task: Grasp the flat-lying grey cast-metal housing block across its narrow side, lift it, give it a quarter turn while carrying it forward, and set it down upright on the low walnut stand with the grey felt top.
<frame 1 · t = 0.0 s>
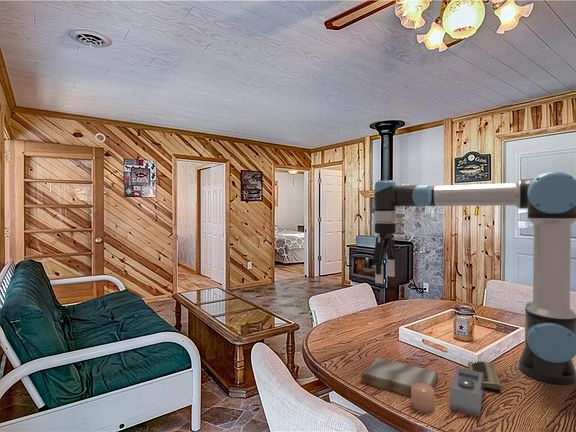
hand: (385, 279, 129), 28 cm above the table, fingers open, 13 cm apart
housing: (467, 400, 99), on the table
stand: (399, 381, 109), on the table
beige egg: (422, 406, 96), on the table
computer: (483, 380, 110), on the table
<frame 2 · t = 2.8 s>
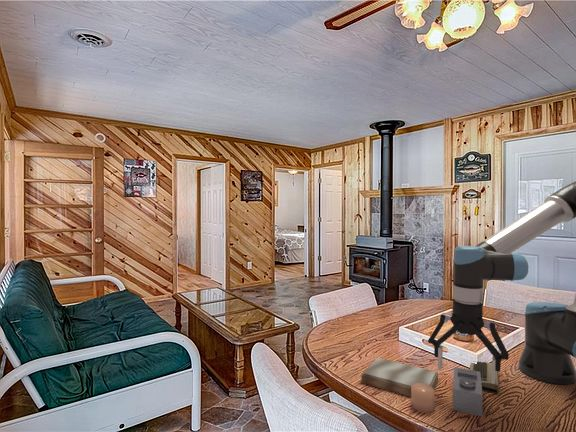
hand: (465, 375, 98), 7 cm above the table, fingers open, 13 cm apart
nothing on the table moved.
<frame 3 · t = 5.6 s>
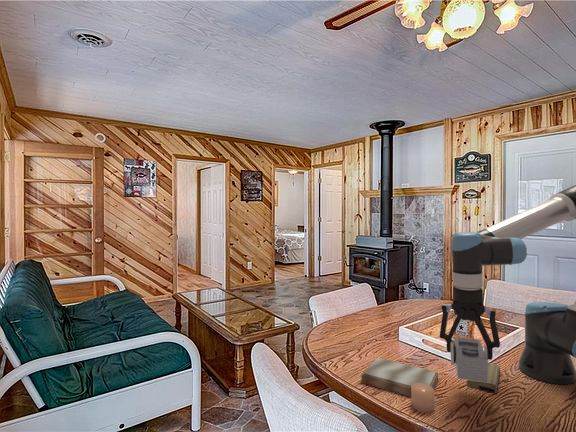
hand: (469, 366, 98), 10 cm above the table, fingers closed on housing, 8 cm apart
housing: (469, 368, 98), point 9 cm above the table, touching gripper
everything else where it was.
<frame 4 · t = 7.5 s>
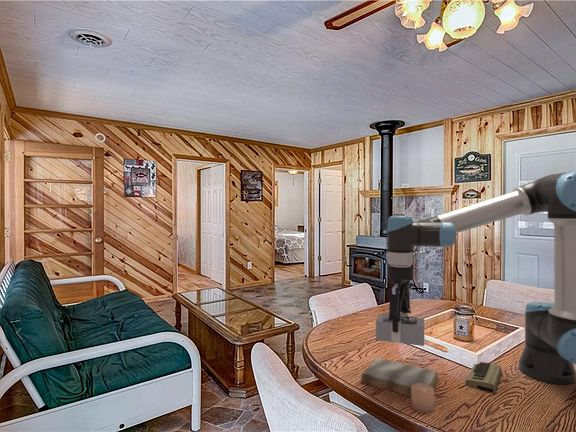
hand: (400, 337, 109), 14 cm above the table, fingers closed on housing, 8 cm apart
housing: (400, 338, 109), point 14 cm above the table, touching gripper
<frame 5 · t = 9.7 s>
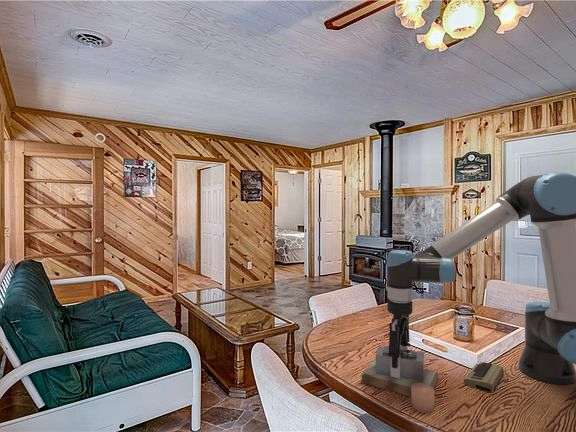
hand: (399, 371, 109), 3 cm above the table, fingers closed on housing, stand, 8 cm apart
housing: (399, 372, 109), point 3 cm above the table, touching gripper, stand
when the fingers open (3 cm above the table, at t = 10.5 s): housing stays where it is, resting on stand.
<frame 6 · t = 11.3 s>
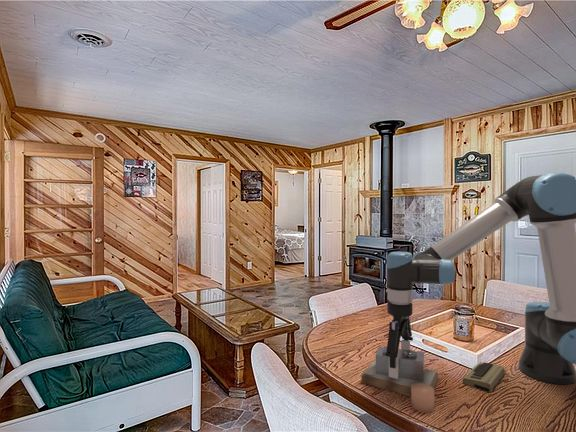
hand: (399, 368, 109), 4 cm above the table, fingers open, 13 cm apart
housing: (399, 372, 109), point 3 cm above the table, touching stand
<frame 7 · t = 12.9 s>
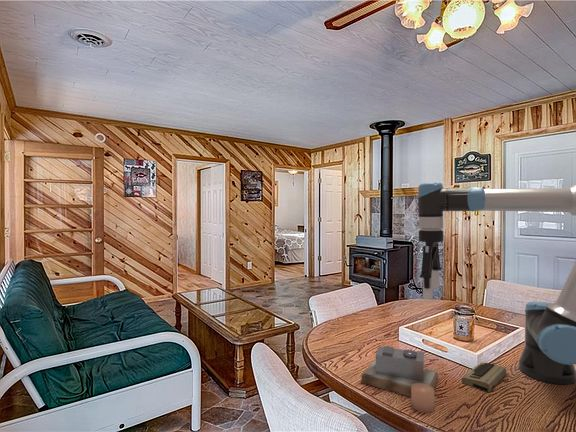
hand: (431, 293, 115), 26 cm above the table, fingers open, 13 cm apart
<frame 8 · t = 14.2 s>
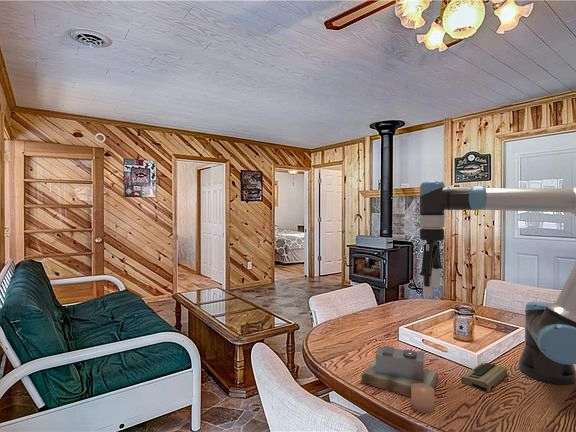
hand: (431, 291, 115), 27 cm above the table, fingers open, 13 cm apart
at the end: housing inside the target area on the stand (0.0 cm from its centre), point 3.0 cm above the stand's base; housing tilted 0°; the gripper is holding nothing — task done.
